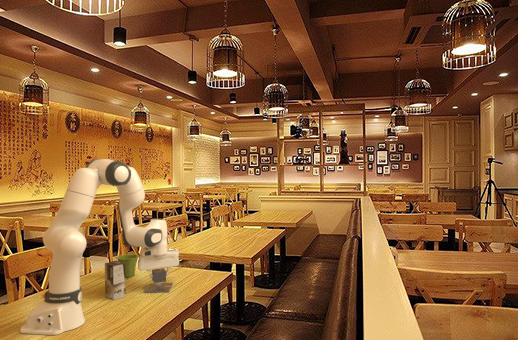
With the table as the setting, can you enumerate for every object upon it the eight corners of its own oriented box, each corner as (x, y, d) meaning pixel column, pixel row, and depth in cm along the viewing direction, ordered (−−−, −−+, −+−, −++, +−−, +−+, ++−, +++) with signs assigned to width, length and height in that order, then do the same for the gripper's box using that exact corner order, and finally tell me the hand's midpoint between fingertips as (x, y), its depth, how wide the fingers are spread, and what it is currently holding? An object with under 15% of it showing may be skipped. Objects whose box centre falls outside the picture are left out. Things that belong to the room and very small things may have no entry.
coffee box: (126, 296, 181) (125, 263, 181) (113, 300, 176) (113, 266, 176) (117, 292, 187) (117, 260, 187) (104, 295, 182) (104, 262, 182)
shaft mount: (144, 293, 186) (144, 285, 185) (149, 285, 198) (149, 277, 197) (169, 292, 186) (168, 284, 186) (173, 284, 198) (172, 276, 198)
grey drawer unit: (154, 283, 188) (153, 271, 188) (152, 279, 193) (151, 268, 193) (166, 281, 190) (166, 270, 190) (163, 278, 196) (163, 267, 196)
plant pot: (134, 279, 207) (134, 259, 207) (113, 279, 208) (112, 259, 207) (141, 273, 219) (141, 253, 219) (121, 273, 219) (121, 254, 219)
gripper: (177, 246, 199) (177, 272, 199) (137, 250, 190) (137, 277, 190) (180, 249, 193) (180, 275, 193) (139, 253, 184) (139, 281, 185)
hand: (159, 276), depth 192 cm, fingers closed on grey drawer unit, 6 cm apart
